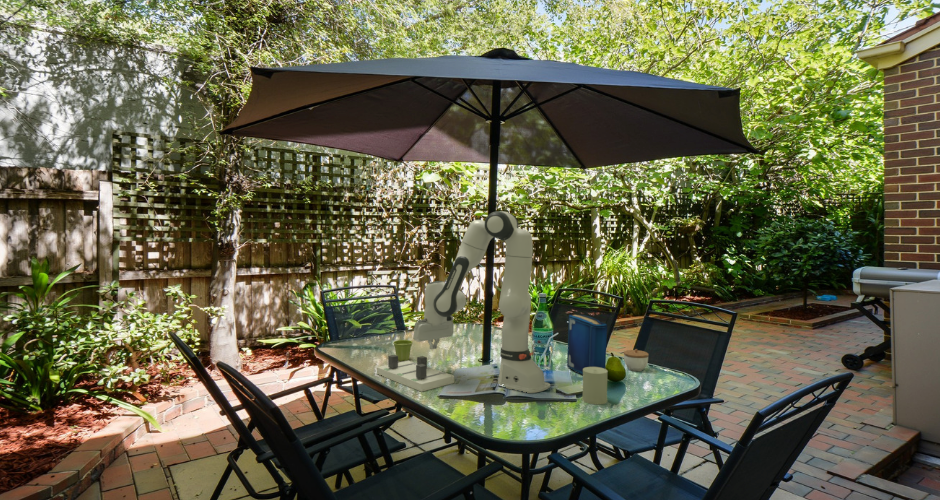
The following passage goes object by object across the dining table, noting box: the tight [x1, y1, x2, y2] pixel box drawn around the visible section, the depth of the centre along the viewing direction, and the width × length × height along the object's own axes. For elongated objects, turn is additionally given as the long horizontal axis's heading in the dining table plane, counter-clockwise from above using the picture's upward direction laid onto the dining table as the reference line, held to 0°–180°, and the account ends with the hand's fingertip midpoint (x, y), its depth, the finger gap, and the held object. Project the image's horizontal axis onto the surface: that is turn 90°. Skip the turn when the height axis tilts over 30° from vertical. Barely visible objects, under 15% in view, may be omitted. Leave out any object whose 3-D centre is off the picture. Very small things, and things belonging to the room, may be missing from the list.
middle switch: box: [416, 355, 428, 366], centre depth 220 cm, size 3×3×5 cm
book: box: [566, 314, 608, 376], centre depth 226 cm, size 22×7×25 cm, turn 22°
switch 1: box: [387, 354, 399, 369], centre depth 222 cm, size 3×3×5 cm
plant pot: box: [392, 339, 413, 362], centre depth 248 cm, size 9×9×9 cm
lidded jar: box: [623, 348, 649, 372], centre depth 234 cm, size 11×11×9 cm
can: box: [581, 367, 609, 405], centre depth 192 cm, size 9×9×12 cm
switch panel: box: [376, 360, 455, 393], centre depth 218 cm, size 32×17×3 cm, turn 43°
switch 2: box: [416, 364, 428, 379], centre depth 208 cm, size 3×3×5 cm
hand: (433, 348), depth 225 cm, fingers closed
